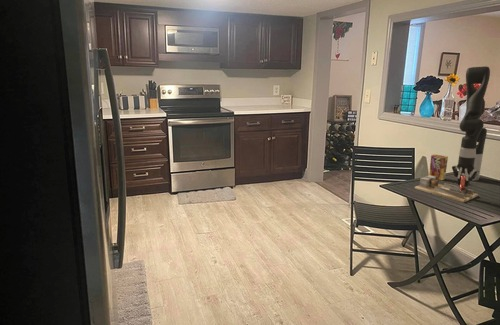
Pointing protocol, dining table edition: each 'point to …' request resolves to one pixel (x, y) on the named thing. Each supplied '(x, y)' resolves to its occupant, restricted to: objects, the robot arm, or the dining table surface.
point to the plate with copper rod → (462, 186)
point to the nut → (434, 183)
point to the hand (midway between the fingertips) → (462, 185)
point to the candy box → (438, 166)
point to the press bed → (444, 190)
